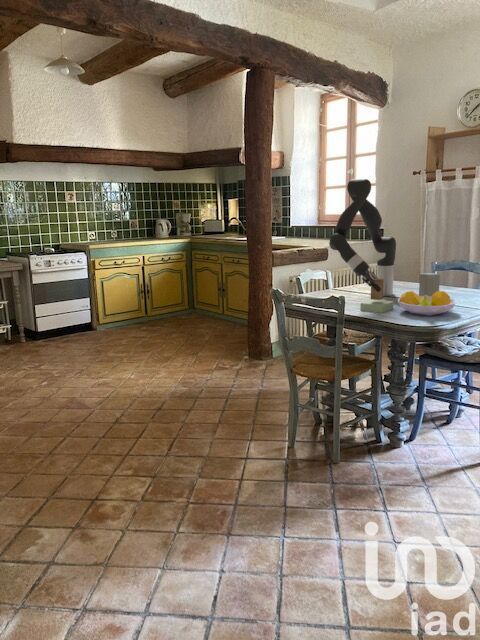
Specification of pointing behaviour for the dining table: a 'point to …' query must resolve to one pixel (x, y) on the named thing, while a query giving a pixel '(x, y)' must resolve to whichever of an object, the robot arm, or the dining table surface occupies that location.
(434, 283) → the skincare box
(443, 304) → the fruit bowl
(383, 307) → the sage platform block
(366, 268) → the robot arm
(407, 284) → the dining table surface
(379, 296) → the walnut block
